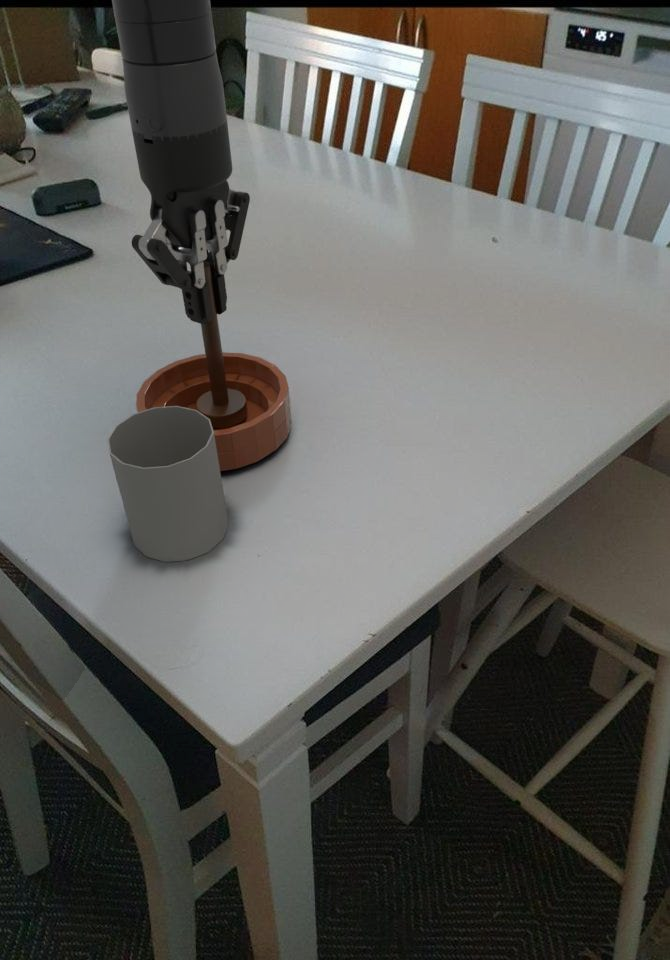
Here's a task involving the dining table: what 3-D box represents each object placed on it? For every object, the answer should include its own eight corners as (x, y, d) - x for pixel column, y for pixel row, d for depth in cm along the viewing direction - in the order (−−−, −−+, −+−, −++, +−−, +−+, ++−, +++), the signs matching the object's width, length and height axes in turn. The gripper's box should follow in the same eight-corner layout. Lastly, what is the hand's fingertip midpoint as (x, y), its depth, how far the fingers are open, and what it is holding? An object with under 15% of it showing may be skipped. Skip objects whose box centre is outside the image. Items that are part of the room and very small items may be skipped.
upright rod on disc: (208, 434, 79) (183, 282, 69) (190, 409, 82) (164, 261, 72) (255, 419, 81) (237, 268, 71) (236, 395, 84) (216, 248, 74)
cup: (113, 547, 69) (86, 454, 63) (163, 488, 75) (143, 398, 69) (199, 571, 67) (180, 477, 60) (244, 509, 72) (231, 417, 66)
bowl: (175, 497, 74) (166, 454, 71) (127, 418, 84) (117, 377, 81) (316, 447, 79) (313, 405, 76) (255, 378, 89) (250, 338, 86)
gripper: (197, 91, 70) (221, 278, 81) (81, 136, 61) (126, 339, 72) (268, 101, 66) (283, 295, 77) (156, 149, 58) (191, 360, 69)
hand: (207, 315), depth 75 cm, fingers closed on upright rod on disc
